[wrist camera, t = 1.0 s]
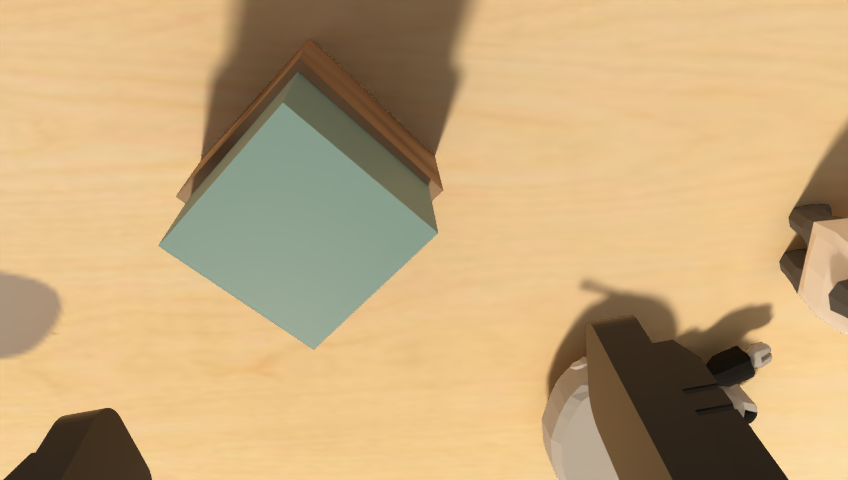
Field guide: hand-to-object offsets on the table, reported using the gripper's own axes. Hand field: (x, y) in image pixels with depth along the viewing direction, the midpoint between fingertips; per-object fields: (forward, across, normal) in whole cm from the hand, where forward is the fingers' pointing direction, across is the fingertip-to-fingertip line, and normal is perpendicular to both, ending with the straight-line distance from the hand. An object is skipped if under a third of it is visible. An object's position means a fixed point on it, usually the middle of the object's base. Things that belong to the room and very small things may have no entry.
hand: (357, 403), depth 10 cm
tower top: (+19, +4, +4) cm, 20 cm away
